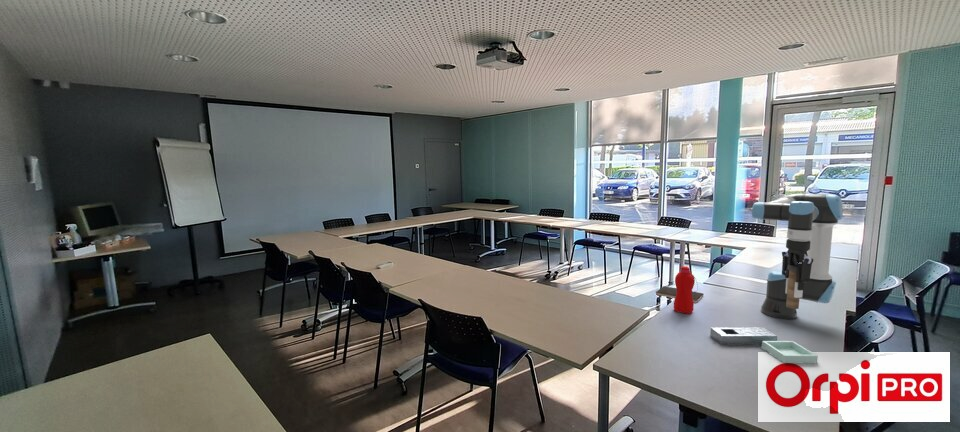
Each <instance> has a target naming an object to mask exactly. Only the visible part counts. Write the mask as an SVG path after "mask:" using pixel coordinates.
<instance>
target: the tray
mask: <svg viewBox="0 0 960 432" xmlns="http://www.w3.org/2000/svg"><path fill="white" fill-rule="evenodd" d="M761 349H762V350H764V351H765V352H767V353H769V354H770V353H771V354H770V355H772V356H773V357H775V358H776V359H777V360H779V361H780V362H782V363H783V364H817V363H818V358H819V355H817V354H816V353H814V352H813V351H811V350H809V349H807V348H805V347H804V346H802V345H800V344H799V343H797V342H795V341H794V340H777V341H762V345H761Z"/></svg>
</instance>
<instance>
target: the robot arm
mask: <svg viewBox="0 0 960 432" xmlns="http://www.w3.org/2000/svg"><path fill="white" fill-rule="evenodd" d="M843 211H844V209H843V200H842V198H841V196H840V195H837V194H828V193H827V194H826V193H825V194H824V193H792V194H786V195H783V196H779V197H777V198H776V199H775V200H772V201H768V202H763V201H760V202H759V201H758V202H754V203H753V205H752V207H751V217H752V218H753V219H757V220H767V221H769V220H770V221H782V222H787V233H786V238H787V239H786V240H785V249H787V251H782V252H781V255H782V263H781V264H782V267H781V269H780V270H779V269H778V270H771V271H769V273H768V274H767V279H766V281H767V282H766V283H767V284H766V294H765V296H766V297H765V299H764V301H763V303H762V305H761V306H760V307H761V308H760V312H762V313H763V314H764V315H767V316H769V317H772V318H778V319H783V320H793V319H796V318H797V317H798V312H797V309H792V308H788V307H786V302H787V291H788V279H789V269H788V265H796V267H797V268H798V269H797V271H796V272H797V281H795V289H794V297H795V298H800V299H799V300H804V301H810V302H815V303H817V304H818V303H819V304H829V303H831V300H832V298H833V296H834V292H835V290H836V286H837V282H836V281H835V280H833V276H832V275H831V274H829V271H830V260H831V249H832V238H833V229H834V226H836V225H837V224H838V222H839V221H840V220H842V219H843V214H844V213H843Z"/></svg>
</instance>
